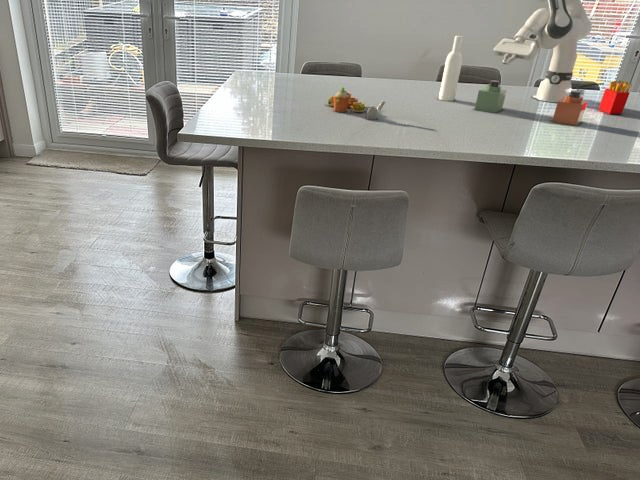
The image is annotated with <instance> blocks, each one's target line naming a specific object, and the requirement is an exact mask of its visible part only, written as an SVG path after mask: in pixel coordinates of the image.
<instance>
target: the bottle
mask: <svg viewBox="0 0 640 480" xmlns="http://www.w3.org/2000/svg"><path fill="white" fill-rule="evenodd" d="M463 38H464V36H463V35H455V36H454V39H453V40H454V41H453V46H452V49H451V50H452V51H450V52H449V53H448V54H447V57H446V59H445V63H444V69H443V74H442V79H441V83H440V84H441V85H440V90H439V93H438V100H439V101H444V102H453V101H454V100H455V98H456V93H457V89H458V83H459V78H460V74H461V69H462V64H463V54H462V53H461V48H462V43H463V40H464V39H463Z"/></svg>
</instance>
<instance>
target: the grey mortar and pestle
mask: <svg viewBox="0 0 640 480" xmlns="http://www.w3.org/2000/svg"><path fill="white" fill-rule="evenodd" d="M385 104H386V101H385V100H383V99H382V100H381V101H380V103H379V104H378V106H377V107H376V106H375V105H374V106H373V105H371V106H369V107H368V108H367V113H366V120H377V117H378V111H381V110H382V109H383V107H384V105H385Z"/></svg>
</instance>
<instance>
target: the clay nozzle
mask: <svg viewBox="0 0 640 480" xmlns="http://www.w3.org/2000/svg"><path fill="white" fill-rule="evenodd" d="M570 92H571V93H570V96H569V97H576V98H579V97H580V96H581V94H582V91H580V90H578V91H577V90H571V91H570Z"/></svg>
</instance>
